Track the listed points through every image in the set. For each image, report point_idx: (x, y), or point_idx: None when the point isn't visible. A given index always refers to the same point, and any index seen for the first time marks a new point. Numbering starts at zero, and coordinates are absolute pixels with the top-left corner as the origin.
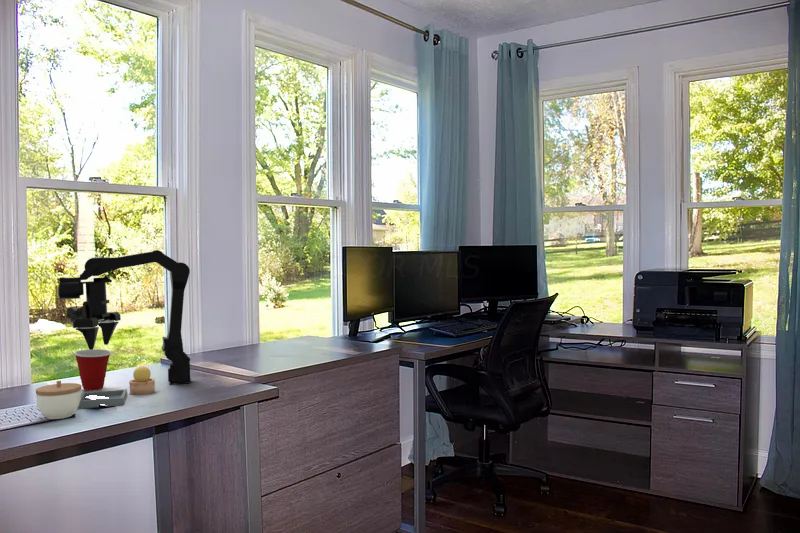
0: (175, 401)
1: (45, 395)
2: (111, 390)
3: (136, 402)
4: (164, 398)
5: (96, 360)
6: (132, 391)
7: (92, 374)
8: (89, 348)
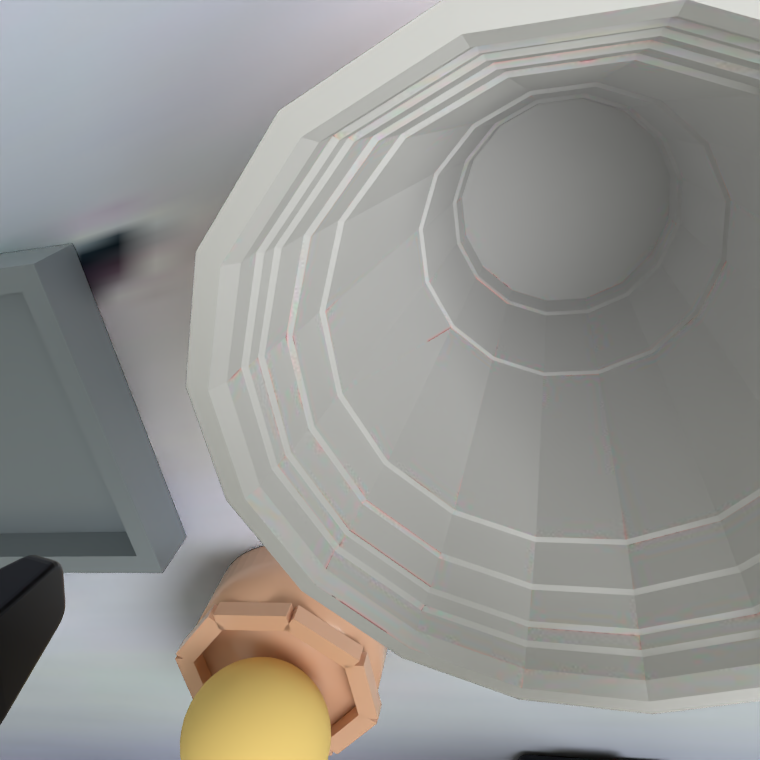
0: (52, 744)
1: None
2: (120, 478)
3: None
4: (116, 709)
5: (326, 469)
6: (223, 579)
7: (393, 303)
8: (12, 572)
